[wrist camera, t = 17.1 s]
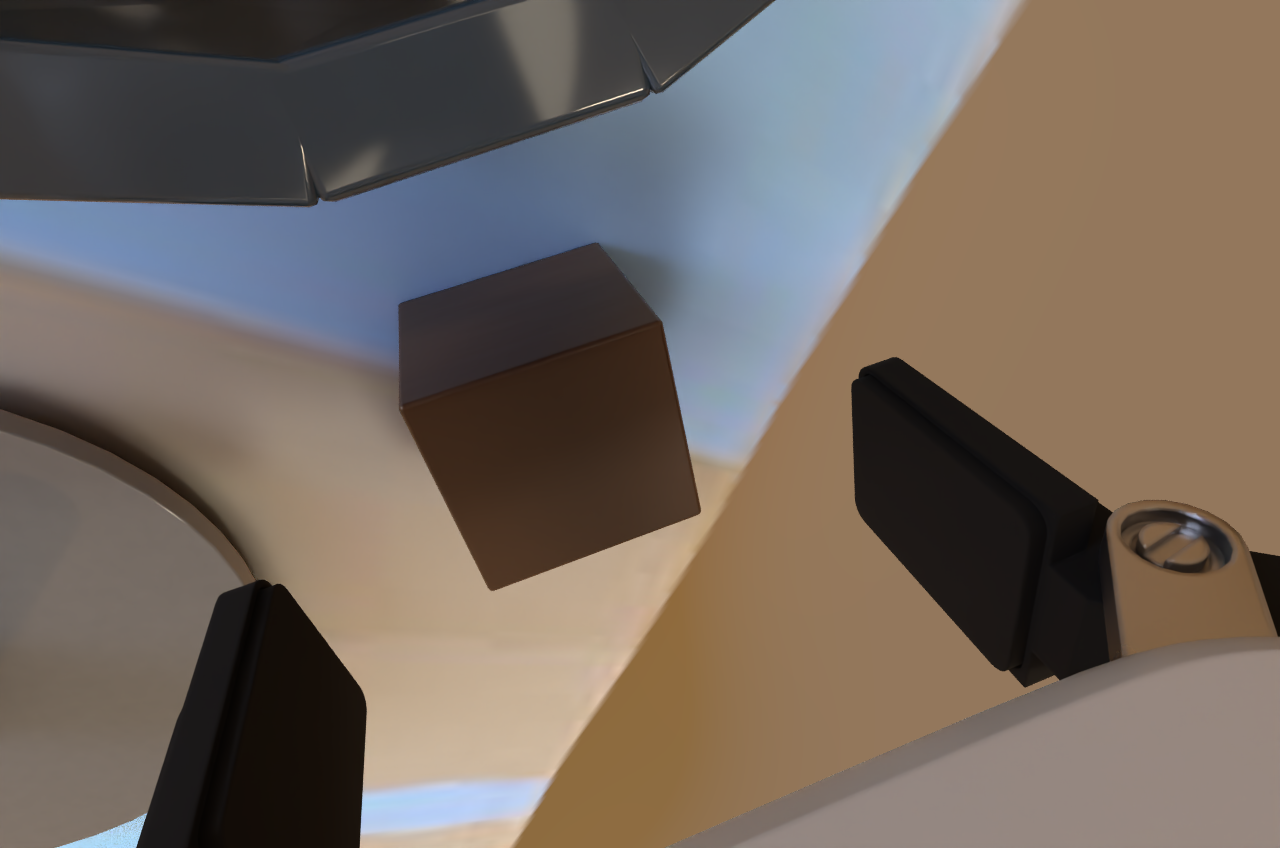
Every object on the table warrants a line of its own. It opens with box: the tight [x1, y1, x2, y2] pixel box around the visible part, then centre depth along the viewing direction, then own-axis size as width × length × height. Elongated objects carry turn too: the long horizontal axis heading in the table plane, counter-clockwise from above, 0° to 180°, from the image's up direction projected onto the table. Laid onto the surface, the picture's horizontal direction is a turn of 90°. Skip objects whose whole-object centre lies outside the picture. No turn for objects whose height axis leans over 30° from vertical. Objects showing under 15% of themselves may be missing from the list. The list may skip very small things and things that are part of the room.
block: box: [398, 243, 701, 591], centre depth 14 cm, size 4×4×4 cm
